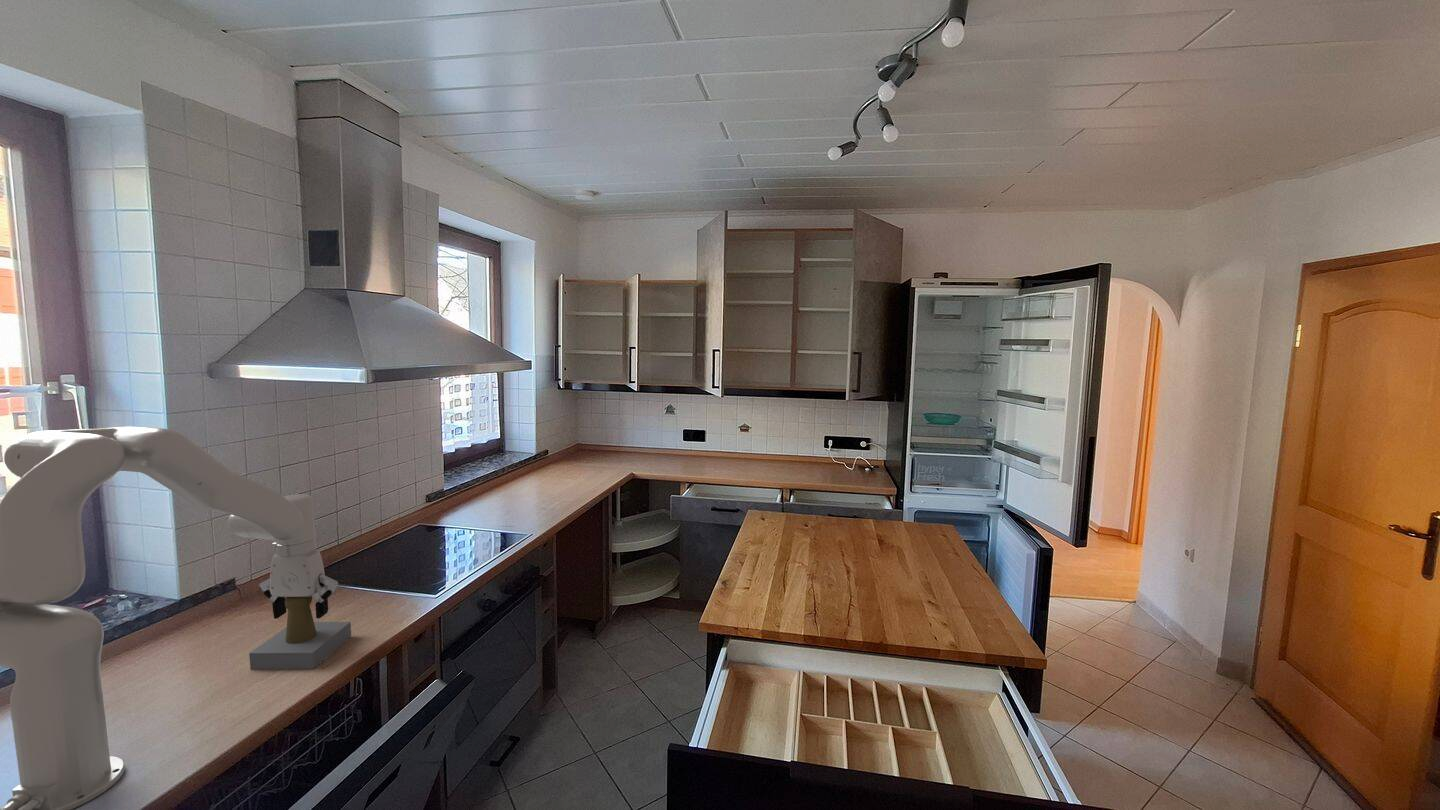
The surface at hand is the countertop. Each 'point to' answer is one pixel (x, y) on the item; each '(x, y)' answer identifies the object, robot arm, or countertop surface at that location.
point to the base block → (300, 648)
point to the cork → (299, 620)
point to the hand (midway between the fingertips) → (301, 615)
